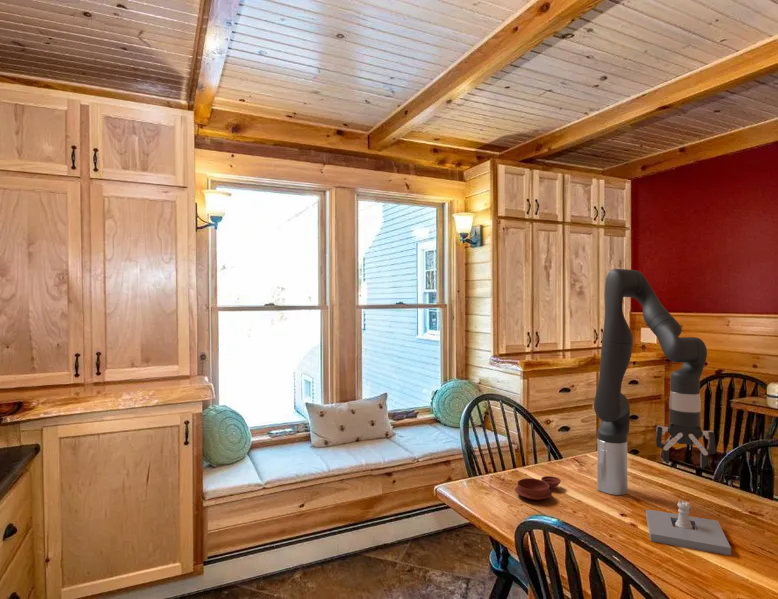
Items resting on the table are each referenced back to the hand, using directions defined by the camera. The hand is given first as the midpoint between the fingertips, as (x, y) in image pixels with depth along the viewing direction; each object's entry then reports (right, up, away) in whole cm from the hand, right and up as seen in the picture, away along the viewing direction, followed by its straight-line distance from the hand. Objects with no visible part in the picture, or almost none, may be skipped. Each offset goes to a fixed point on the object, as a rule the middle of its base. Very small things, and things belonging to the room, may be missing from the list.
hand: (684, 465), depth 134 cm
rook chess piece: (-1, -19, 0) cm, 19 cm away
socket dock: (-1, -18, -2) cm, 19 cm away
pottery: (-33, -19, +26) cm, 46 cm away
